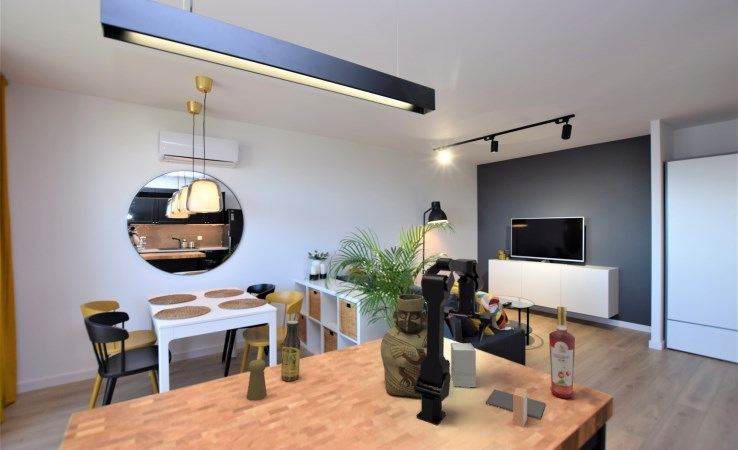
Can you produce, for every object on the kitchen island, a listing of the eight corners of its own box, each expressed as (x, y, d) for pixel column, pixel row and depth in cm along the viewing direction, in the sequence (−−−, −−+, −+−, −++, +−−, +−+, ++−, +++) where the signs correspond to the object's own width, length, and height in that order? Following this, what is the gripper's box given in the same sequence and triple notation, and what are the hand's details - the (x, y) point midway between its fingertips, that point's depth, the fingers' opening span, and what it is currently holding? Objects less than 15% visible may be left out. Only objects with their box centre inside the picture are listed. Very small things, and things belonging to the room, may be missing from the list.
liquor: (575, 393, 110) (575, 307, 111) (574, 403, 104) (574, 311, 104) (550, 387, 114) (550, 304, 115) (547, 396, 108) (547, 308, 108)
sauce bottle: (278, 381, 117) (278, 323, 118) (285, 373, 124) (286, 319, 124) (295, 382, 116) (296, 324, 117) (302, 375, 122) (303, 319, 123)
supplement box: (471, 378, 121) (471, 343, 121) (476, 388, 113) (476, 350, 113) (450, 377, 121) (450, 342, 122) (453, 387, 114) (453, 349, 114)
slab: (523, 427, 91) (523, 397, 91) (513, 424, 92) (513, 394, 93) (527, 418, 95) (527, 390, 95) (517, 415, 97) (517, 387, 97)
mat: (540, 419, 95) (540, 417, 95) (485, 403, 103) (485, 401, 103) (545, 404, 103) (545, 402, 103) (494, 391, 111) (494, 389, 111)
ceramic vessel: (420, 409, 100) (421, 306, 100) (368, 386, 114) (369, 297, 114) (453, 387, 113) (453, 297, 114) (402, 369, 128) (403, 290, 128)
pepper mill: (260, 401, 103) (261, 365, 104) (242, 399, 105) (243, 363, 105) (270, 392, 109) (270, 358, 110) (253, 390, 111) (253, 356, 111)
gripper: (500, 294, 120) (499, 338, 120) (449, 289, 131) (449, 329, 131) (491, 299, 111) (491, 347, 111) (438, 293, 122) (437, 337, 121)
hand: (466, 339), depth 119 cm, fingers open, 9 cm apart
